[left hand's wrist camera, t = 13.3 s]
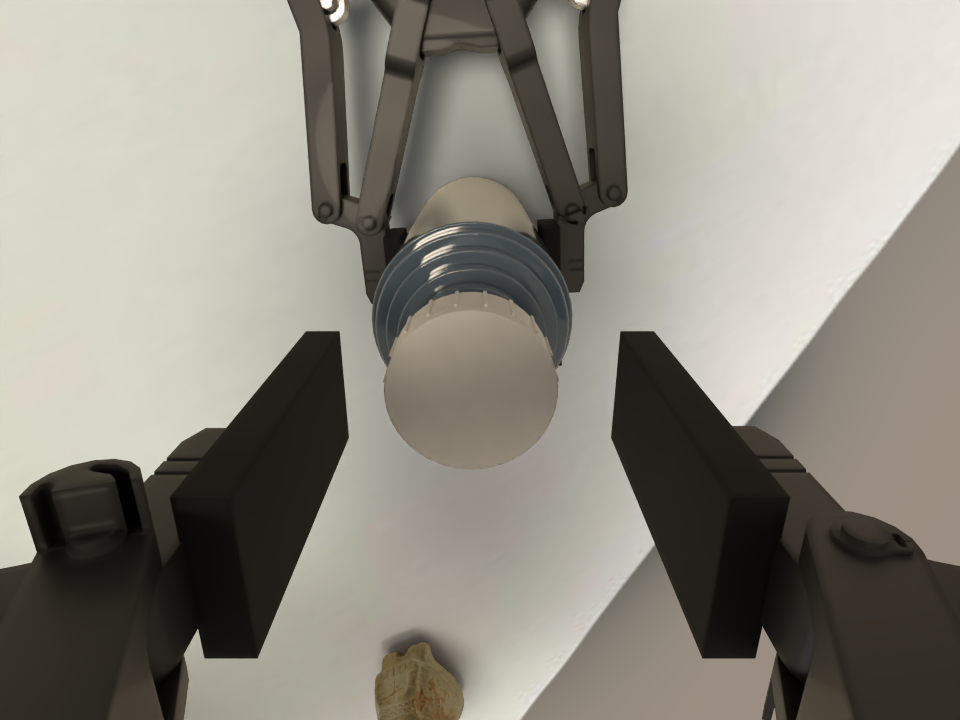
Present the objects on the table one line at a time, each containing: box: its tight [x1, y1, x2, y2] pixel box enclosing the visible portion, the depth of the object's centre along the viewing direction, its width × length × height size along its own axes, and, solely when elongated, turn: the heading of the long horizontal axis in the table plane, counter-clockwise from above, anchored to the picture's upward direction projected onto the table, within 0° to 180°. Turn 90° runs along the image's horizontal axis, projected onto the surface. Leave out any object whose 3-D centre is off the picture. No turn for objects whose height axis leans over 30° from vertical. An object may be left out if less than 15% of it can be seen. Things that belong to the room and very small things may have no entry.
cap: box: [384, 291, 558, 469], centre depth 15 cm, size 4×4×2 cm
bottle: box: [372, 177, 572, 370], centre depth 25 cm, size 6×6×21 cm
